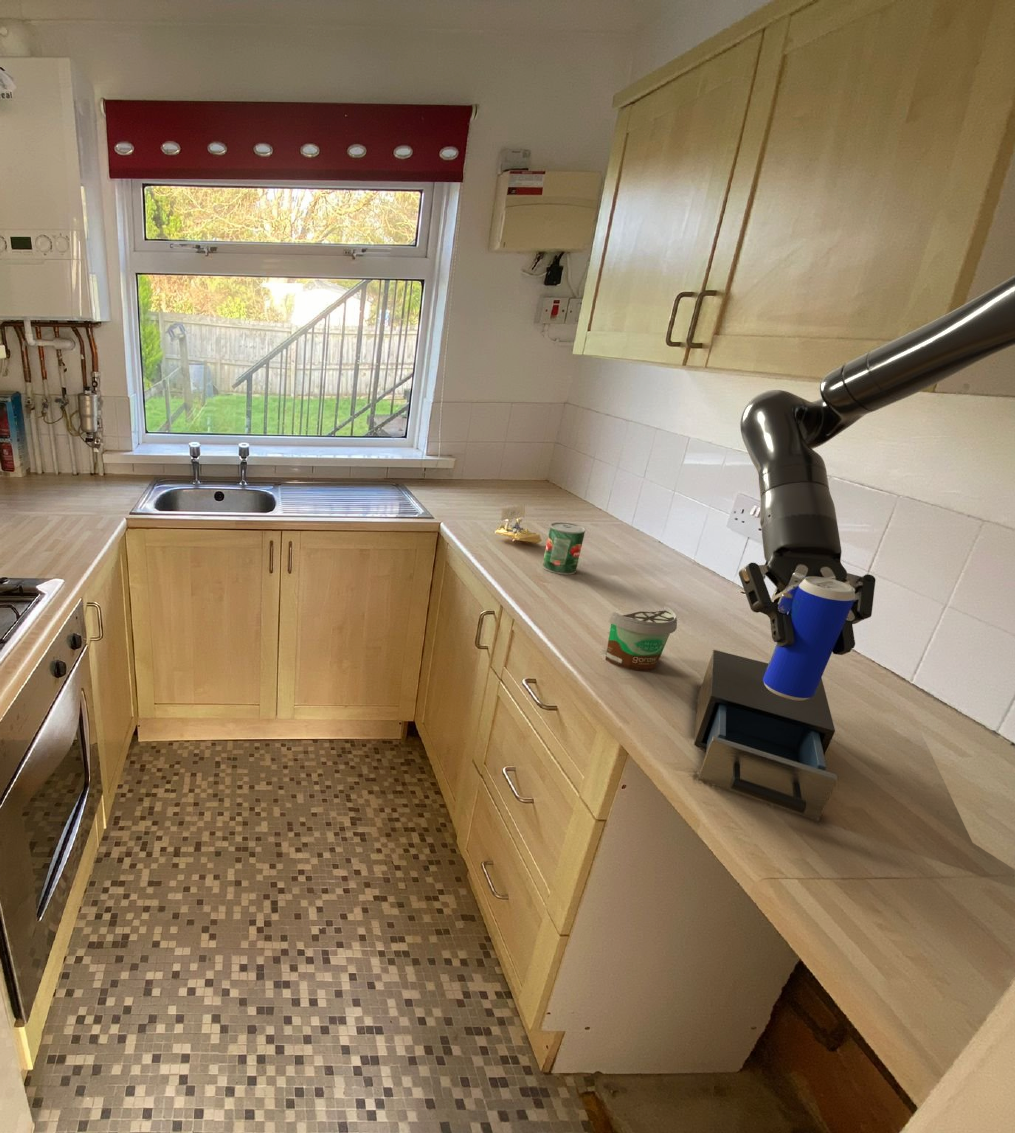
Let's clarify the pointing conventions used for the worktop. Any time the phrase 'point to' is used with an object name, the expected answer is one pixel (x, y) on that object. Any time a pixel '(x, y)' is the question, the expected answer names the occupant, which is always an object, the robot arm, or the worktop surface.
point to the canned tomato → (563, 548)
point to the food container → (639, 638)
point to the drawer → (767, 761)
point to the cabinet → (757, 698)
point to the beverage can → (809, 637)
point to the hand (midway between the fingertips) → (814, 648)
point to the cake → (516, 525)
